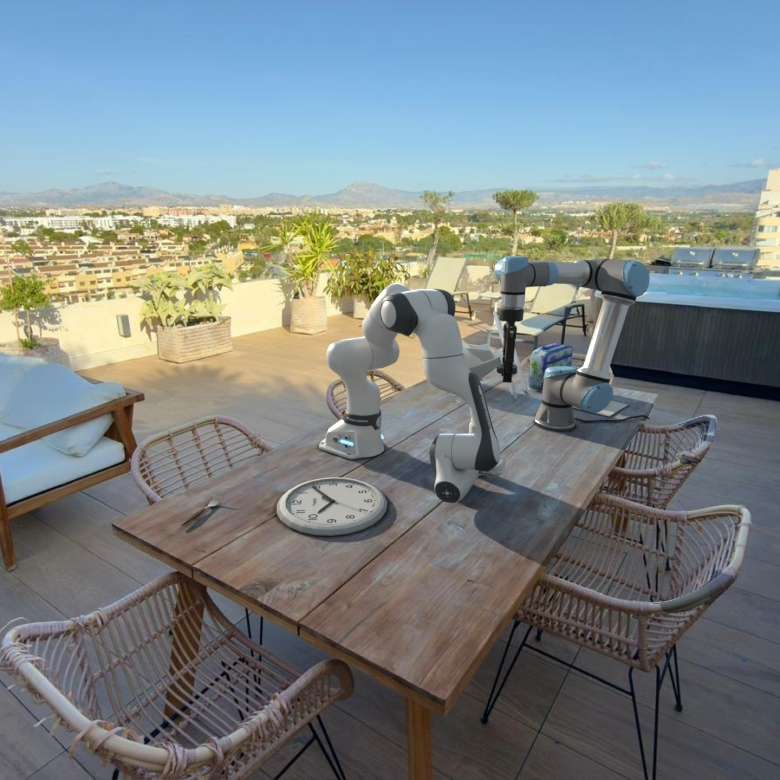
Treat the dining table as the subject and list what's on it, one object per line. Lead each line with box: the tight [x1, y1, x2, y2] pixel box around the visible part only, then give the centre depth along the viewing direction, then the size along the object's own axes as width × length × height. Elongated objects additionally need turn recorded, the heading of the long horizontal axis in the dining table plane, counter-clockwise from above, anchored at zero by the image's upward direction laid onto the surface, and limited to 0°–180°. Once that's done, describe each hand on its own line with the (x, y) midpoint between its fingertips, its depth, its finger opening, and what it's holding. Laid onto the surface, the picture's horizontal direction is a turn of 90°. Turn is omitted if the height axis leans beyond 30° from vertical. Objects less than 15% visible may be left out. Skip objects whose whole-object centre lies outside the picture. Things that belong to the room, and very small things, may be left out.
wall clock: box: [276, 476, 388, 537], centre depth 142 cm, size 30×2×30 cm
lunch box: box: [528, 343, 574, 392], centre depth 249 cm, size 26×11×21 cm, turn 134°
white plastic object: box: [461, 310, 531, 400], centre depth 245 cm, size 37×45×31 cm
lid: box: [496, 363, 518, 376], centre depth 168 cm, size 6×6×2 cm
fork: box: [180, 491, 225, 527], centre depth 138 cm, size 3×16×2 cm, turn 160°
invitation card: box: [573, 400, 629, 418], centre depth 226 cm, size 21×1×15 cm
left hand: (477, 451), depth 163 cm, fingers closed on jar, 5 cm apart
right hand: (506, 378), depth 169 cm, fingers closed on lid, 6 cm apart
